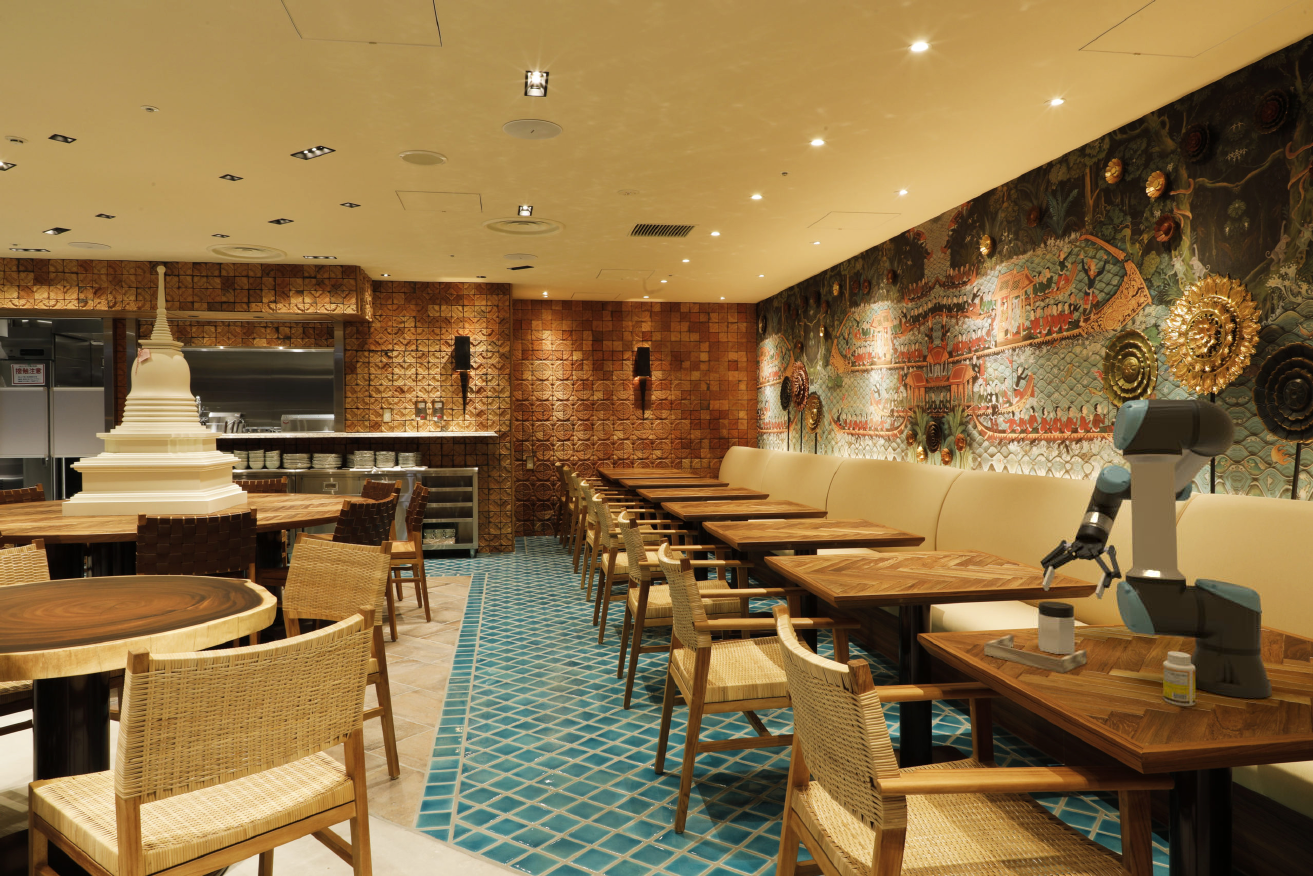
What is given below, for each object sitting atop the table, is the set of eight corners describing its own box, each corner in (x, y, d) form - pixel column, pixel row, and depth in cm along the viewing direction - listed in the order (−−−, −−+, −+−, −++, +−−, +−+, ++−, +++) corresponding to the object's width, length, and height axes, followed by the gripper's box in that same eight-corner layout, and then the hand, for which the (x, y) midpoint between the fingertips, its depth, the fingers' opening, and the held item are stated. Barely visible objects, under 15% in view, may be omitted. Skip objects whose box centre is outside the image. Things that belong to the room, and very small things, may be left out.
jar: (1036, 644, 200) (1036, 600, 200) (1070, 647, 197) (1070, 602, 197) (1040, 653, 192) (1041, 606, 192) (1076, 656, 189) (1076, 609, 189)
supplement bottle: (1180, 697, 159) (1180, 649, 159) (1202, 707, 153) (1202, 657, 153) (1156, 698, 158) (1156, 650, 158) (1177, 707, 153) (1177, 658, 153)
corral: (1009, 646, 198) (1009, 634, 198) (1086, 662, 184) (1086, 650, 184) (984, 655, 190) (984, 643, 190) (1062, 673, 175) (1062, 660, 175)
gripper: (1147, 545, 202) (1126, 608, 193) (1052, 536, 222) (1028, 592, 212) (1140, 527, 199) (1118, 590, 189) (1044, 519, 218) (1019, 576, 209)
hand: (1070, 592), depth 201 cm, fingers open, 13 cm apart
